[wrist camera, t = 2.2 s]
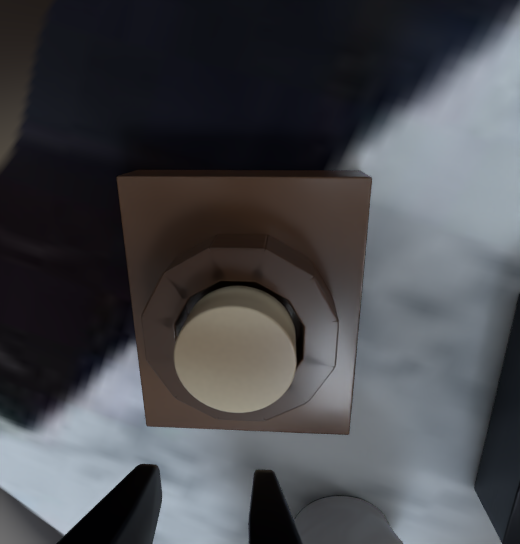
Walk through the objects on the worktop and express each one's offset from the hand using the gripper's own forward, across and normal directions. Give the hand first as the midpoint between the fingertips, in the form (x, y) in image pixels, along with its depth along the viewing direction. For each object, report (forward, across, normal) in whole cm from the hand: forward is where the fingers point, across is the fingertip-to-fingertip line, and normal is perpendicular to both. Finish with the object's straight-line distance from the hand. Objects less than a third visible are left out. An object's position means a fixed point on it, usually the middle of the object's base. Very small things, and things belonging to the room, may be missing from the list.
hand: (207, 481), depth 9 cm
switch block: (+10, 0, 0) cm, 10 cm away
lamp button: (+6, 0, 0) cm, 6 cm away
